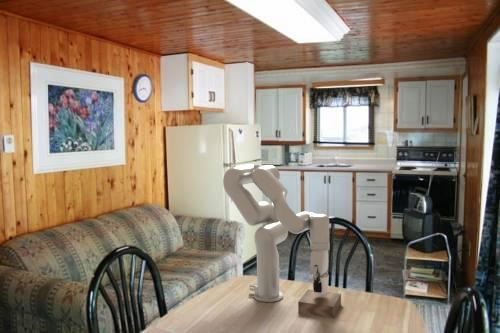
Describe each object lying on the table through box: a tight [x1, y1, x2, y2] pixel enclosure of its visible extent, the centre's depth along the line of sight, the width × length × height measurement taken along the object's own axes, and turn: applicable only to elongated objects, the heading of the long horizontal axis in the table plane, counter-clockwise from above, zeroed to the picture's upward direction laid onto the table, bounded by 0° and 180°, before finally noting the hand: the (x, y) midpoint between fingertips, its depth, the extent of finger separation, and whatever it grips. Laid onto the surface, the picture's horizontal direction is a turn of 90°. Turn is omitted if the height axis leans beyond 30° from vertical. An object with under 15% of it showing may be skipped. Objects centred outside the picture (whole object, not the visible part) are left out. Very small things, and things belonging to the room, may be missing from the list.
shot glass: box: [311, 273, 330, 294], centre depth 180 cm, size 7×7×7 cm
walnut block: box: [297, 288, 342, 319], centre depth 181 cm, size 14×14×5 cm
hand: (320, 288), depth 180 cm, fingers closed on shot glass, 6 cm apart
